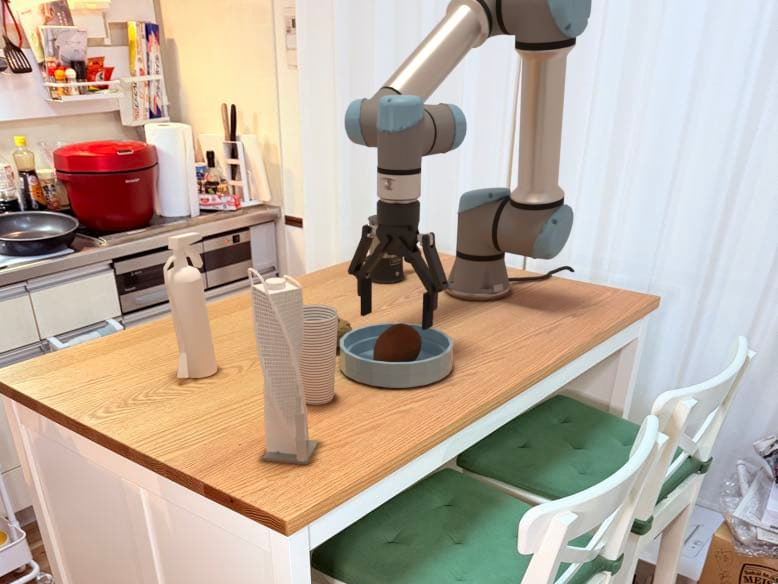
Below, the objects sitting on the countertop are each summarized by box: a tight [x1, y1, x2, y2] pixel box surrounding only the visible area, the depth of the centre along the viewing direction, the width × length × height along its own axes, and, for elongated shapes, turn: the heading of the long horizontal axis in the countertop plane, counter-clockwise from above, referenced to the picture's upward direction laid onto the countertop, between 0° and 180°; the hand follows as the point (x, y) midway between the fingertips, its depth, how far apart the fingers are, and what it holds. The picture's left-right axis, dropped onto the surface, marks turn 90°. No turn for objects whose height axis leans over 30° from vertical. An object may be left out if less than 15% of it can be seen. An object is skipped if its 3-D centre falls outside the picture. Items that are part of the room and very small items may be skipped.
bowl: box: [339, 322, 455, 389], centre depth 148 cm, size 22×22×5 cm
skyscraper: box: [247, 267, 319, 466], centre depth 114 cm, size 8×8×28 cm
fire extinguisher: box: [162, 231, 218, 379], centre depth 140 cm, size 7×12×25 cm, turn 153°
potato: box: [373, 322, 422, 362], centre depth 147 cm, size 8×12×8 cm, turn 140°
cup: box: [299, 304, 339, 406], centre depth 133 cm, size 8×8×16 cm
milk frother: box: [362, 214, 413, 284], centre depth 196 cm, size 14×16×15 cm
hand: (396, 321), depth 144 cm, fingers open, 13 cm apart
